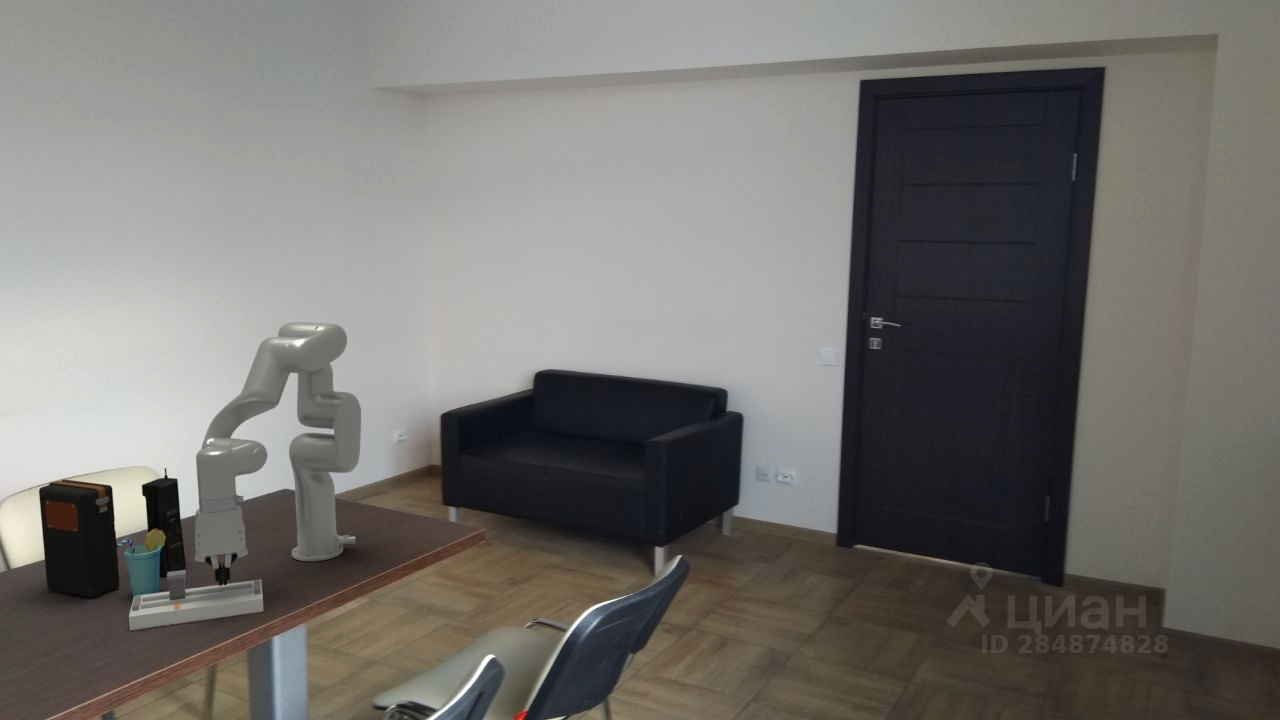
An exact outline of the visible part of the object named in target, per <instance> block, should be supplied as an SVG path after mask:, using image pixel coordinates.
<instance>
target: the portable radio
mask: <svg viewBox="0 0 1280 720" xmlns="http://www.w3.org/2000/svg"><path fill="white" fill-rule="evenodd" d="M167 469H168V468H164V476H163V477H161V478H156V479H154V480H152V481H149V482H146V483H143V484H141V492H142V494H141V496H143V497H144V498H145V506H146V507H145V509H146V523H147V534H148V533H150V532H151V531H152V530H153V529H154V530H162V531H163V533H164V534H165V536H166V540H165V544H164V546H163V547H162V548H161V552H160V568H159V577H166V576H167V572H172V571H180V570H184V569H185V568H186V567H187V563H186V562H187V561H186V556H185V546H184V537H183V536H184V535H183V534H184V533H183V527H182V522H181V519H182V518H181V509H180V506H181V505H180V491H179V482H178V478H173V477H168V475H167Z"/></svg>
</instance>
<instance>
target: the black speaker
mask: <svg viewBox="0 0 1280 720" xmlns="http://www.w3.org/2000/svg"><path fill="white" fill-rule="evenodd" d="M113 494H114V491H113V487H112V485H109V484H104V483H103V484H101V483H95V482H94V483H93V482H87V481H86V482H85V481H80V480H78V481H77V480H73V479H72V480H71V479H61V480H56V481H53V482H50V483H48V485H45V486H41V487H40V488H39V490H38V496H39V507H40V509H39V510H40V518H41V530H42V542H43V552H44V553H43V554H44V564H45V576H46V587H47V589H49V590H50V591H55V592H63V593H67V594H71V595H72V594H73V595H77V596H84V597H89V598H95V597H98V596H100V595H102V594H105V593H107V592H109V591H112V590H117V589H119V588H120V586H121V585H120V572H119V571H120V570H119V559H118V548H117V547H116V545H117V544H118V543H117V531H116V524H115V520H116V519H115V507H114V495H113Z"/></svg>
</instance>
